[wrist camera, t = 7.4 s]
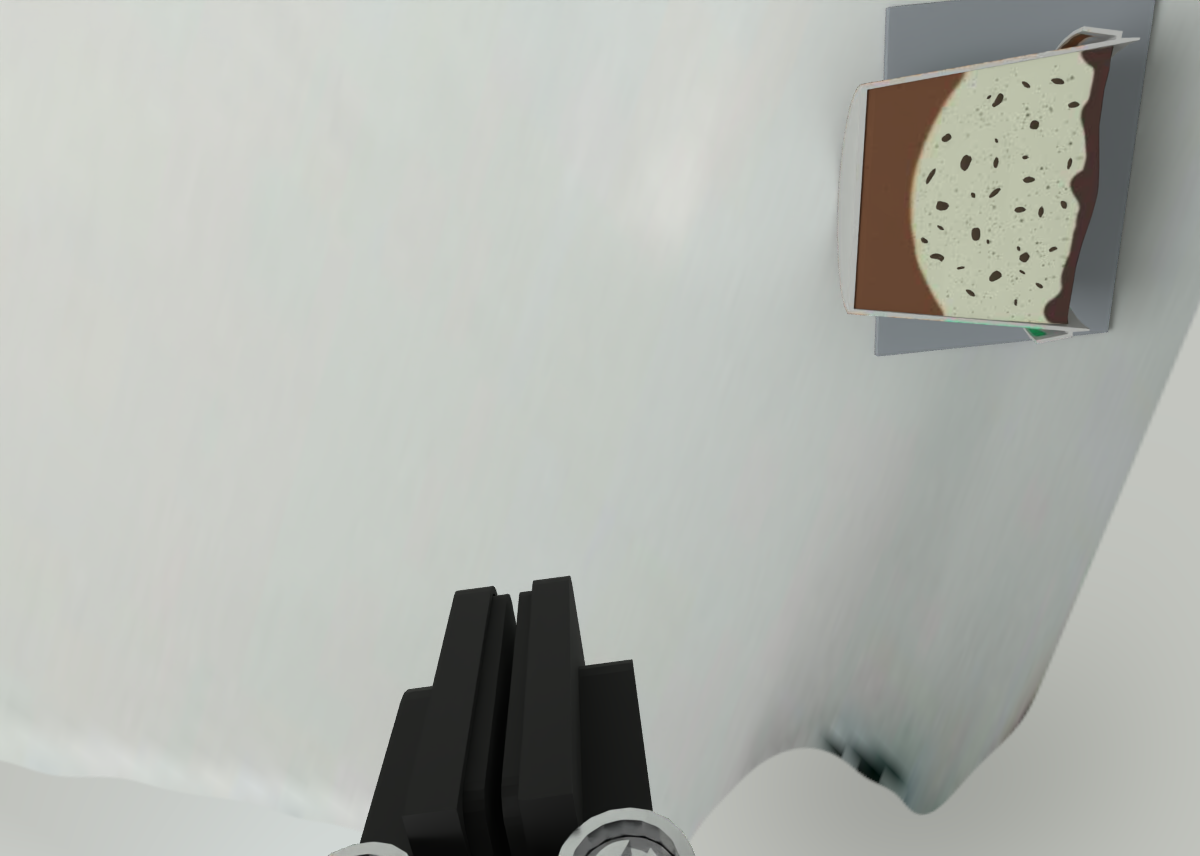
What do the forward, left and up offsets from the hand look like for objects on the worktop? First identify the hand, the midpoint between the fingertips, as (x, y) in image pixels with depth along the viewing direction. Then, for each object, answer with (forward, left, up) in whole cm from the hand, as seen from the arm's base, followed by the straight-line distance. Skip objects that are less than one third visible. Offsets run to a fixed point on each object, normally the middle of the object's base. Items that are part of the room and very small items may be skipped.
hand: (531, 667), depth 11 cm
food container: (-3, +14, -27) cm, 30 cm away
